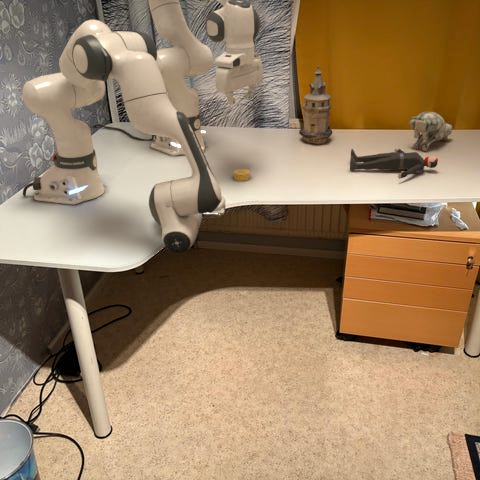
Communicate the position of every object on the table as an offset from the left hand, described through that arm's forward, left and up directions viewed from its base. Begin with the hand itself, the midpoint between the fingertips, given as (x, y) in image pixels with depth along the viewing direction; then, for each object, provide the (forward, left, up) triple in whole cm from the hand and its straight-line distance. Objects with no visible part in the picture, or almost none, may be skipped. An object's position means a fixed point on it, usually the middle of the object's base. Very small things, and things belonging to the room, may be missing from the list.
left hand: (194, 194), depth 162 cm
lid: (+12, +27, -4) cm, 30 cm away
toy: (+66, +37, -6) cm, 76 cm away
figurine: (+85, +63, -6) cm, 106 cm away
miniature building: (+40, +68, -6) cm, 79 cm away
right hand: (+12, +27, +21) cm, 36 cm away
